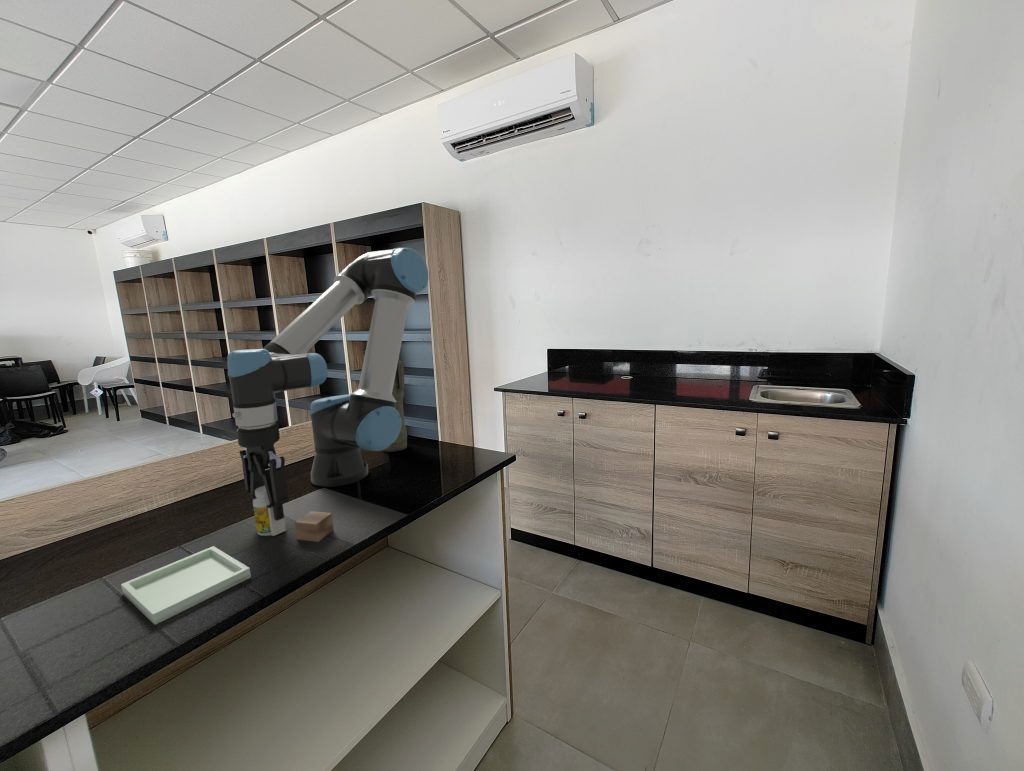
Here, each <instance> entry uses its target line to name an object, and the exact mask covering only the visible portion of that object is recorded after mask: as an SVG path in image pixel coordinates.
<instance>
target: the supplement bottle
mask: <svg viewBox="0 0 1024 771" xmlns="http://www.w3.org/2000/svg"><path fill="white" fill-rule="evenodd" d="M255 496H256V497H257V498H256V499H255V500H254V502H253V501H252V508H253V514H254V520H255V528H256V533H257V534H258V536H262V537H264V536H265V537H268V536H272V535H271V528H270V520H269V513H268V508H267V505H269V504H270V503H269V499H268V495H267V492H266V488H265V486H262V487H259V488H257V489H256V490H255ZM257 534H256V535H257Z"/></svg>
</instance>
